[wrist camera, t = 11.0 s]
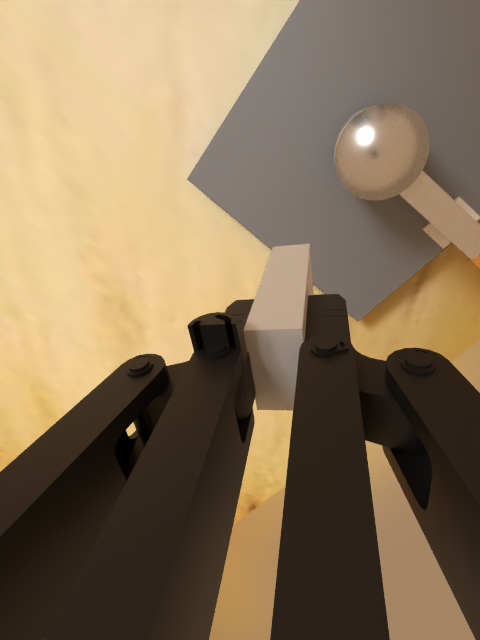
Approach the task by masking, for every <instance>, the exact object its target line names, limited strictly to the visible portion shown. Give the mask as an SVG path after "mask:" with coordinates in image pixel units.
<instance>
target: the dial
mask: <svg viewBox="0 0 480 640" xmlns="http://www.w3.org/2000/svg"><path fill="white" fill-rule="evenodd" d="M429 144H430V141H429V134H428V130H427V127H426V125H425V123H424V121H423V120H422V118H421V117H420V116H419V115H418V114H417V113H416V112H415V111H414V110H413V109H411V108H409V107H407V106H405V105H402V104H397V103H382V104H378V105H373V106H369V107H366V108H363V109H361V110H359V111H357V112H355V113H354V114H352V115H351V116H350V117H349V118H348V119H347V120H346V121H345V122H344V123H343V125H342V126H341V128H340V129H339V131H338V133H337V135H336V138H335V141H334V147H333V158H334V163H335V168H336V172H337V175H338V178H339V180H340V182H341V183H342V185H343V186H344V187H345V188H346V189H347V190H348V191H349V192H350V193H351V194H353V195H355V196H356V197H359V198H361V199H365V200H373V201H374V200H384V199H388V198H391V197H393V196H396V195H398V194H399V195H401V196H402V197H403V198H404V199H405V200H406V201H407V202H408V203H409V204H410V205H411V206H413V207H414V208H415V209H416V210H417V211H418V212H419V213H420V214H421V215H422V216H424V217H425V218H426V219H427V220H428V221H429V222H430V223H431V224H432V225H433V226H434V227H436V228H437V229H438V230H439V231H440V232H441V233H442V234H443V235H444V236H445V237H446V238H448V239H449V240H450V241H451V242H452V243H453V244H454V245H455V246H456V247H457V248H458V249H459V250H460V251H461V252H462V253H463V254H464V255H465V256H466V257H468V258H469V259H470V260H471V261H472V262H473V263H474V264H475V265H476V266H477V267H478V268H479V269H480V224H479V223H478V222H477V221H476V220H475V219H474V218H473V217H471V216H470V215H469V214H468V213H467V212H466V211H465V210H464V209H463V208H462V207H461V206H460V205H459V204H458V203H457V202H456V201H454V200H453V199H452V198H451V197H450V196H449V195H448V194H447V193H446V192H445V191H444V190H443V189H442V188H441V187H440V186H439V185H437V184H436V183H435V182H434V181H433V180H432V179H431V178H430V177H429V176H428V175H427V174H426V173H425V172H424V171H422V170H423V168H424V166H425V164H426V161H427V158H428V154H429Z"/></svg>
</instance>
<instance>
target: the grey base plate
mask: <svg viewBox="0 0 480 640" xmlns="http://www.w3.org/2000/svg"><path fill="white" fill-rule="evenodd" d="M382 103H397V104H402V105H405V106H407V107H409V108H411V109H413V110H414V111H415V112H416V113H417V114H418V115H419V116H420V117H421V118H422V120H423V121H424V123H425V125H426V127H427V130H428V134H429V141H430V144H429V154H428V158H427V161H426V164H425V166H424V168H423V170H422V171H424V172H425V173H426V174H427V175H428V176H429V177H430V178H431V179H432V180H433V181H434V182H435V183H436V184H437V185H439V186H440V187H441V188H442V189H443V190H444V191H445V192H446V193H447V194H448V195H449V196H450V197H451V198H452V199H453V200H454V201H456V202H457V203H458V204H459V205H460V206H461V207H462V208H463V209H464V210H465V211H466V212H467V213H468V214H469V215H470V216H471V217H473V218H474V219H475V220H476V221H478V220H480V0H300V1H299V3H298V4H297V6H296V7H295V9H294V11H293V12H292V14H291V15H290V17H289V18H288V20H287V22H286V23H285V25H284V26H283V28H282V30H281V31H280V33H279V34H278V36H277V37H276V39H275V41H274V42H273V44H272V45H271V47H270V49H269V50H268V52H267V53H266V55H265V57H264V58H263V60H262V61H261V63H260V64H259V66H258V68H257V69H256V71H255V72H254V74H253V76H252V77H251V79H250V80H249V82H248V83H247V85H246V87H245V88H244V90H243V91H242V93H241V95H240V96H239V98H238V99H237V101H236V102H235V104H234V106H233V107H232V109H231V110H230V112H229V114H228V115H227V117H226V118H225V120H224V122H223V123H222V125H221V126H220V128H219V129H218V131H217V133H216V134H215V136H214V137H213V139H212V141H211V142H210V144H209V145H208V147H207V148H206V150H205V152H204V153H203V155H202V156H201V158H200V160H199V161H198V163H197V164H196V166H195V167H194V169H193V171H192V172H191V174H190V175H189V177H188V179H187V180H189V181H190V182H191V183H192V184H193V185H195V186H196V187H197V188H198V189H199V190H201V191H202V192H203V193H204V194H205V195H207V196H208V197H209V198H210V199H211V200H213V201H214V202H215V203H216V204H217V205H219V206H220V207H221V208H222V209H223V210H225V211H226V212H227V213H228V214H229V215H231V216H232V217H233V218H234V219H235V220H237V221H238V222H239V223H240V224H241V225H243V226H244V227H245V228H246V229H247V230H249V231H250V232H251V233H252V234H253V235H255V236H256V237H257V238H258V239H259V240H261V241H262V242H263V243H264V244H265V245H267V246H268V247H269V248H270V249H271V250H272V248H273V247H277V246H288V245H299V244H310V253H311V268H312V284H313V285H315V286H316V287H317V288H318V289H319V290H321V291H322V292H323V293H324V294H339V295H340V296H341V297H343V298H344V299H345V300H346V306H347V313H348V314H349V315H351V316H352V317H353V318H354V319H355V320H357V321H359V320H360V319H361V318H363V317H364V316H365V315H366V314H367V313H369V312H370V311H371V310H372V309H373V308H375V307H376V306H377V305H378V304H379V303H381V302H382V301H383V300H384V299H385V298H387V297H388V296H389V295H390V294H391V293H392V292H394V291H395V290H396V289H397V288H398V287H400V286H401V285H402V284H403V283H404V282H406V281H407V280H408V279H409V278H410V277H412V276H413V275H414V274H415V273H416V272H418V271H419V270H420V269H421V268H422V267H424V266H425V265H426V264H427V263H428V262H429V261H431V260H432V259H433V258H434V257H435V256H437V255H438V254H439V253H440V252H441V251H443V250H444V249H445V248H446V247H447V246H449V245H450V244H451V243H452V242H451V241H450V240H449V239H448V238H446V237H445V236H444V235H443V234H442V233H441V232H440V231H439V230H438V229H437V228H436V227H434V226H433V225H432V224H431V223H430V222H429V221H428V220H427V219H426V218H425V217H424V216H422V215H421V214H420V213H419V212H418V211H417V210H416V209H415V208H414V207H413V206H411V205H410V204H409V203H408V202H407V201H406V200H405V199H404V198H403V197H402V196H401V195H399V194H398V195H396V196H393V197H391V198H388V199H384V200H374V201H373V200H365V199H361V198H359V197H356V196H355V195H353V194H351V193H350V192H349V191H348V190H347V189H346V188H345V187H344V186H343V185H342V183H341V182H340V180H339V178H338V175H337V172H336V168H335V163H334V158H333V147H334V141H335V138H336V135H337V133H338V131H339V129H340V128H341V126H342V125H343V123H344V122H345V121H346V120H347V119H348V118H349V117H350V116H351V115H352V114H354V113H355V112H357V111H359V110H361V109H363V108H366V107H369V106H373V105H378V104H382Z"/></svg>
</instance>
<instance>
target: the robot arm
mask: <svg viewBox="0 0 480 640" xmlns="http://www.w3.org/2000/svg"><path fill="white" fill-rule="evenodd" d="M188 329H189V333H190V337H191V341H192V345H193V349H194V353H193V355H192V357H191V359H190V361H187V362H183V363H179V364H174V365H170V366H166V364H165V360H164V359H163V358H162V357H161V356H159V355H156V354H143V355H139V356H136V357H134V358H132V359H129V360H128V361H126V362H125V363H123V364H122V365H121V366H120V367H118V368H117V369H116V370H115V371H114V372H113V373H112V374H111V375H109V376H108V377H107V378H106V379H105V380H104V381H103V382H102V383H100V384H99V385H98V386H97V387H96V388H95V389H94V390H92V391H91V392H90V393H89V394H88V395H87V396H86V397H85V398H83V399H82V400H81V401H80V402H79V403H78V404H77V405H76V406H74V407H73V408H72V409H71V410H70V411H69V412H68V413H66V414H65V415H64V416H63V417H62V418H61V419H60V420H59V421H57V422H56V423H55V424H54V425H53V426H52V427H51V428H50V429H48V430H47V431H46V432H45V433H44V434H43V435H42V436H40V437H39V438H38V439H37V440H36V441H35V442H34V443H33V444H31V445H30V446H29V447H28V448H27V449H26V450H25V451H24V452H22V453H21V454H20V455H19V456H18V457H17V458H16V459H15V460H13V461H12V462H11V463H10V464H9V465H8V466H7V467H5V468H4V469H3V470H2V471H1V472H0V640H209V636H210V631H211V626H212V622H213V616H214V612H215V607H216V603H217V598H218V593H219V588H220V584H221V579H222V574H223V570H224V565H225V560H226V555H227V551H228V546H229V541H230V536H231V532H232V527H233V522H234V517H235V513H236V508H237V503H238V498H239V494H240V489H241V484H242V480H243V475H244V470H245V465H246V461H247V456H248V451H249V446H250V442H251V437H252V432H253V427H254V414H253V408H252V407H253V403H254V399H256V405H257V410H293V418H292V428H291V438H290V448H289V458H288V468H287V478H286V488H285V498H284V509H283V519H282V529H281V538H280V548H279V559H278V569H277V578H276V588H275V599H274V608H273V618H272V629H271V639H270V640H390V639H389V630H388V622H387V615H386V606H385V599H384V590H383V583H382V574H381V566H380V558H379V550H378V542H377V533H376V526H375V517H374V509H373V501H372V493H371V485H370V477H369V469H368V461H367V453H366V445H365V440H366V441H370V442H373V443H376V444H380V445H382V446H383V450H384V453H385V455H386V457H387V459H388V461H389V464H390V465H391V467H392V470H393V472H394V474H395V476H396V478H397V480H398V482H399V484H400V486H401V488H402V490H403V492H404V494H405V496H406V498H407V500H408V502H409V504H410V506H411V508H412V510H413V513H414V515H415V517H416V519H417V520H418V523H419V525H420V527H421V529H422V531H423V533H424V535H425V537H426V539H427V541H428V543H429V545H430V547H431V549H432V551H433V553H434V555H435V557H436V559H437V561H438V564H439V566H440V568H441V570H442V572H443V574H444V576H445V578H446V580H447V582H448V584H449V586H450V588H451V590H452V592H453V594H454V596H455V598H456V600H457V602H458V604H459V606H460V609H461V611H462V613H463V615H464V617H465V619H466V620H467V623H468V625H469V627H470V629H471V631H472V633H473V635H474V637H475V639H476V640H480V393H479V392H478V391H477V390H476V389H475V388H474V386H472V384H471V383H470V382H469V381H468V380H467V379H466V378H465V377H464V376H463V375H462V374H461V373H460V372H459V371H458V370H457V369H456V368H455V367H454V366H453V364H452V363H451V362H450V361H449V360H448V359H446V358H445V357H443V356H442V355H441V354H439V353H436V352H433V351H431V350H427V349H421V348H404V349H401V350H397V351H394V352H393V353H392V354H390V355H389V356H388V358H387V360H386V361H383V360H377V359H373V358H369V357H367V356H364V355H362V354H360V353H359V352H357V351H356V350H355V349H354V348H353V346H352V344H351V339H350V331H349V323H348V315H347V306H346V300H345V299H344V298H343V297H341V296H340V295H339V294H324V295H313V284H312V268H311V253H310V244H299V245H288V246H277V247H273V248H272V251H271V254H270V256H269V259H268V262H267V265H266V268H265V271H264V273H263V276H262V279H261V282H260V285H259V288H258V290H257V293H256V296H255V299H251V300H236V301H235V302H233V303H232V304H231V305H230V306H228V307H227V309H226V311H225V313H220V312H216V313H209V314H206V315H203V316H200V317H198V318H196V319H194V320H192V321H191V322H190V323H189V325H188ZM132 422H134V425H135V427H136V431H135V432H134V433H133V434H132V435H131V436H128V435H127V432H126V429H127V428H128V427H129V426H130V425H131V423H132Z"/></svg>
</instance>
